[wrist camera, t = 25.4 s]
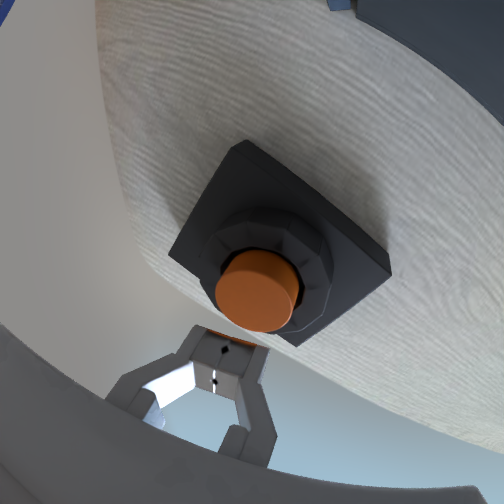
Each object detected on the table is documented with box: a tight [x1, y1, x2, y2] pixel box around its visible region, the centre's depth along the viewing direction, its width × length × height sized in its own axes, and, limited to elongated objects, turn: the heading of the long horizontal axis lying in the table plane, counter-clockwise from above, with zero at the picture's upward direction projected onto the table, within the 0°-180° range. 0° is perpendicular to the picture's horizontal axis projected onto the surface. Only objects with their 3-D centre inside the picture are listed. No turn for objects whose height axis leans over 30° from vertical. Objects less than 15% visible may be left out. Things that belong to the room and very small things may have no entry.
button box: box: [168, 139, 392, 347], centre depth 16 cm, size 10×8×4 cm
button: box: [215, 250, 299, 332], centre depth 14 cm, size 4×4×2 cm
